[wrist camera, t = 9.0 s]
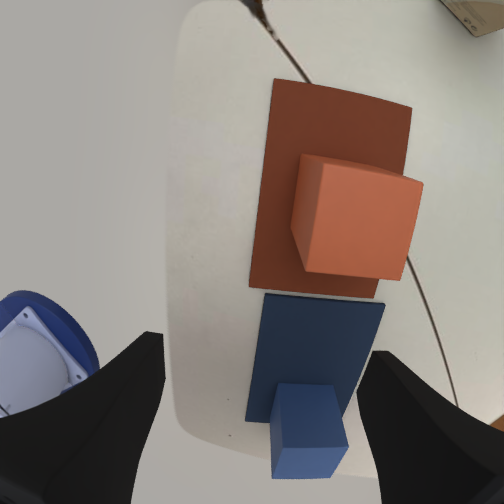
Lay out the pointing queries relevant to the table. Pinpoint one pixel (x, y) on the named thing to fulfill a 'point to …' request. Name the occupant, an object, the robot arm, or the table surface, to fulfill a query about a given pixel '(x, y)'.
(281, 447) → the blue block
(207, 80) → the table surface
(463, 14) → the box
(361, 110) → the terracotta mat
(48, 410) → the robot arm
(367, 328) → the blue mat
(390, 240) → the terracotta block
